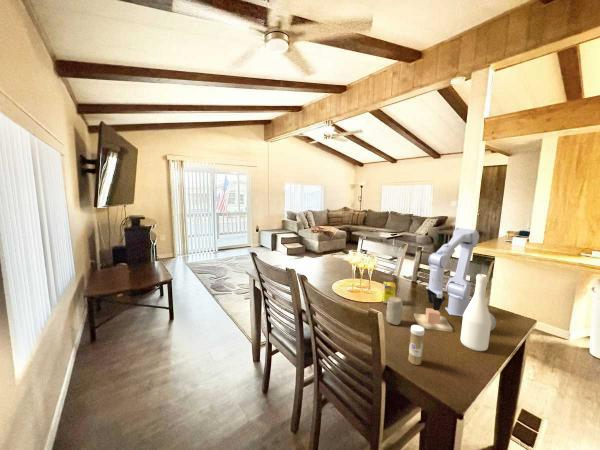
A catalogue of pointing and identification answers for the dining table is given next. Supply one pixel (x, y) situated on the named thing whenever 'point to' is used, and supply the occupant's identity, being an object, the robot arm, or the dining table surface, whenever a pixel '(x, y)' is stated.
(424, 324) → the birch board
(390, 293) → the supplement box
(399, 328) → the dining table surface
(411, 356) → the sprinkles bottle
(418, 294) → the dining table surface
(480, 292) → the wine bottle
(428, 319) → the peach cube
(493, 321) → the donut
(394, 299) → the carving
